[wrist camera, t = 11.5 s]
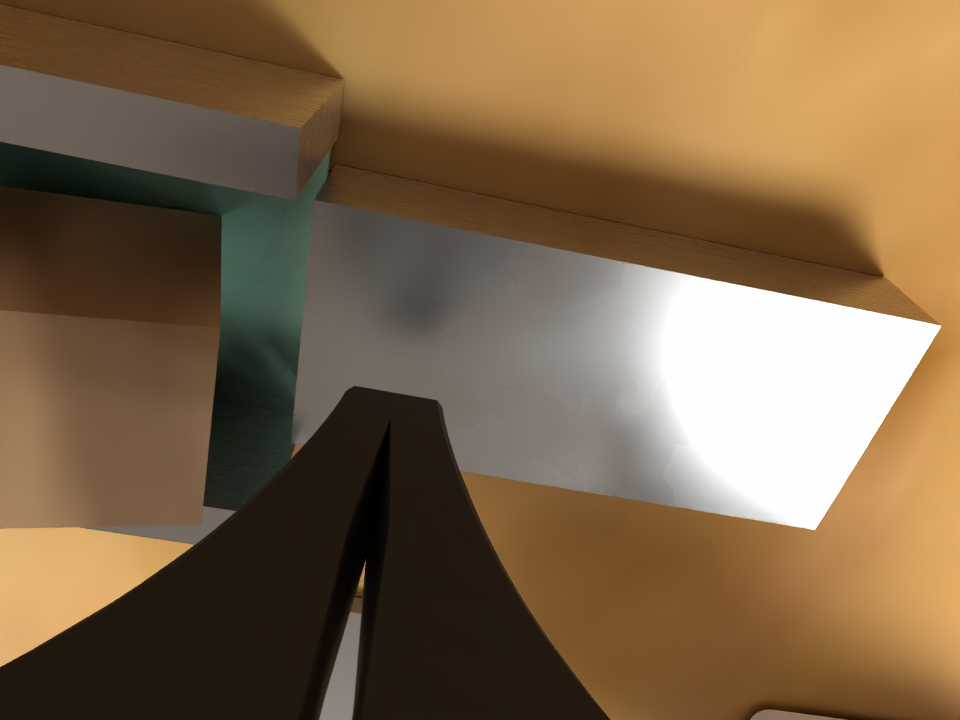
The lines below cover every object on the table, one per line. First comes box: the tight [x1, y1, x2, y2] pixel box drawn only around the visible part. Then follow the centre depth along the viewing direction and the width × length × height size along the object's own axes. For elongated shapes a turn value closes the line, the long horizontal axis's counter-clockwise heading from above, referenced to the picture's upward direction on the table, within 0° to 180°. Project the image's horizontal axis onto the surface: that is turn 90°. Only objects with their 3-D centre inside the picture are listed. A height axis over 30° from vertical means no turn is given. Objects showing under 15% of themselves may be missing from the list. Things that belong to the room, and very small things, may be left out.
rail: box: [0, 4, 941, 544], centre depth 13 cm, size 18×8×4 cm, turn 78°
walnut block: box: [0, 186, 222, 529], centre depth 12 cm, size 4×4×4 cm
